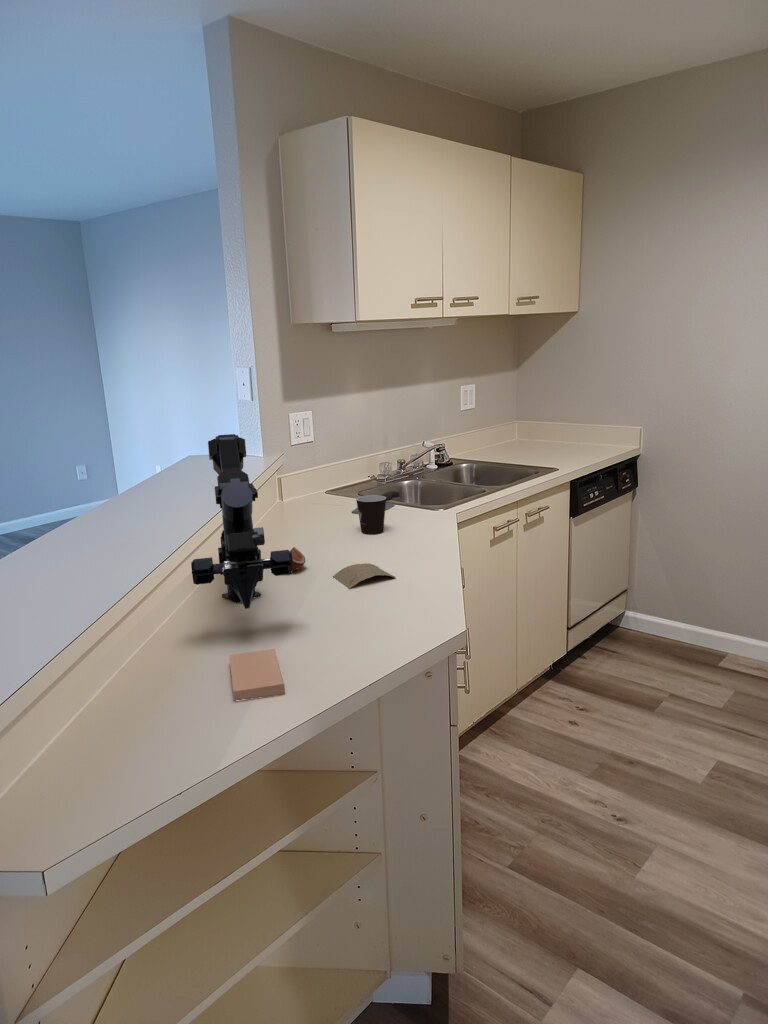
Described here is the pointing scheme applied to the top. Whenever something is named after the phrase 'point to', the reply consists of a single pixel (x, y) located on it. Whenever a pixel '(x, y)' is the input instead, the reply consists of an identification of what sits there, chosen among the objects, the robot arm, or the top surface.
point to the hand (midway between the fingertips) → (247, 607)
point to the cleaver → (388, 496)
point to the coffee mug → (371, 513)
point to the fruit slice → (297, 558)
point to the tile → (256, 675)
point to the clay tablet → (358, 574)
